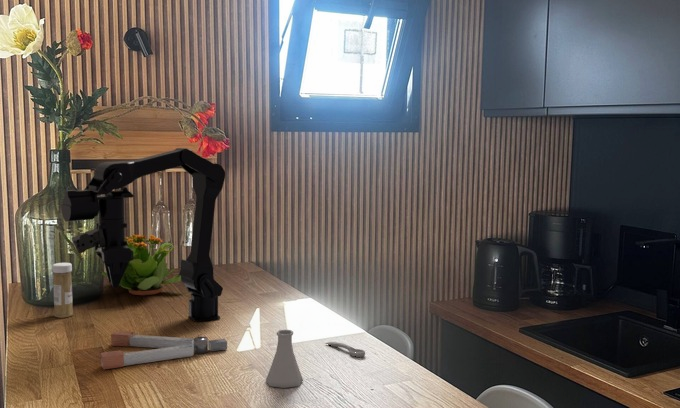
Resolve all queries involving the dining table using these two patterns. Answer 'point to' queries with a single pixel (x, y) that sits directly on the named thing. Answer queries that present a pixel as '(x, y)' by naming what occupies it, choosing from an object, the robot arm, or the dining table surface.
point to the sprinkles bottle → (62, 289)
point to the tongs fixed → (154, 354)
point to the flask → (284, 363)
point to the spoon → (351, 350)
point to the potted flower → (146, 267)
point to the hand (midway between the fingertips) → (113, 285)
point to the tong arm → (157, 341)
